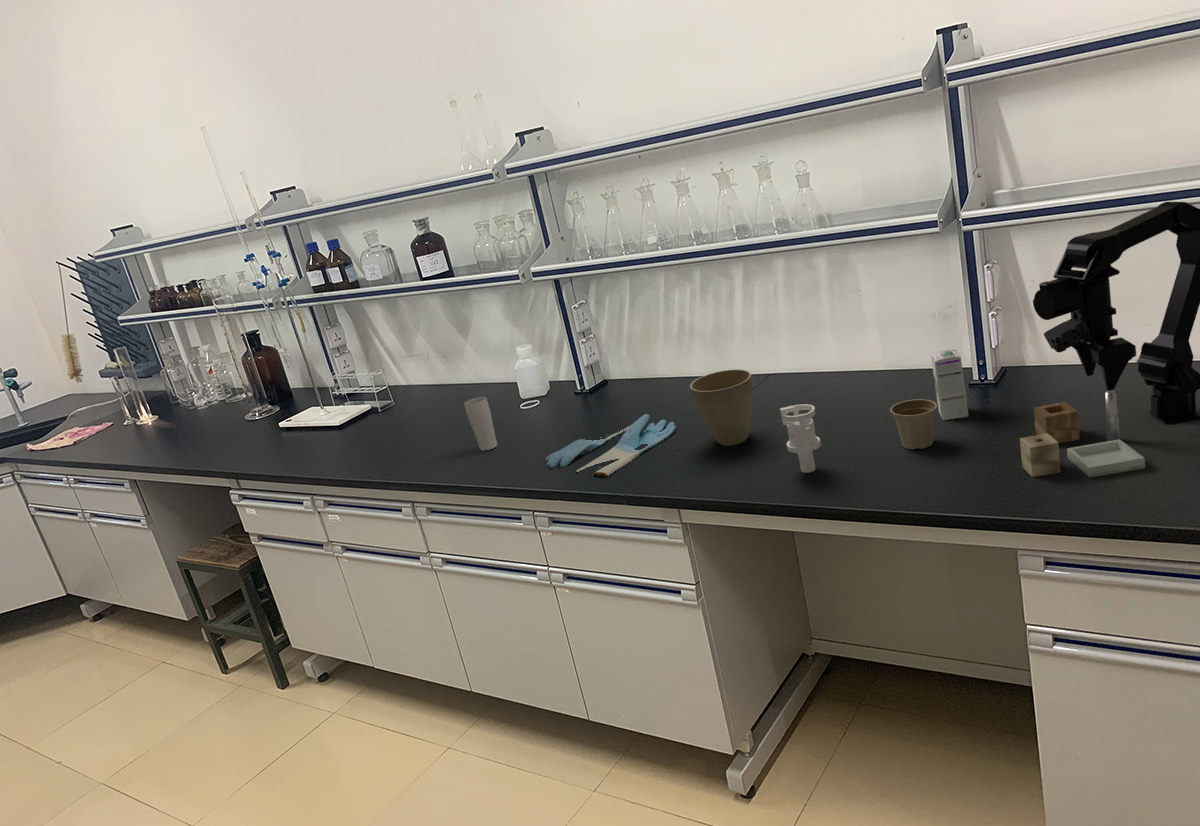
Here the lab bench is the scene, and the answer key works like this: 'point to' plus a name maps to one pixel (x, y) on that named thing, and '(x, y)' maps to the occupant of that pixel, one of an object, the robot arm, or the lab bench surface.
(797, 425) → the strainer
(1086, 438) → the lab bench surface
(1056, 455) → the maple block
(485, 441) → the drinking glass
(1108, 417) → the rod
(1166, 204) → the robot arm
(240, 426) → the lab bench surface
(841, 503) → the lab bench surface
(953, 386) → the syrup box
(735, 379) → the plant pot
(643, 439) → the rubber gloves
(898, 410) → the flower pot
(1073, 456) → the tray
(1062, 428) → the bored oak block
